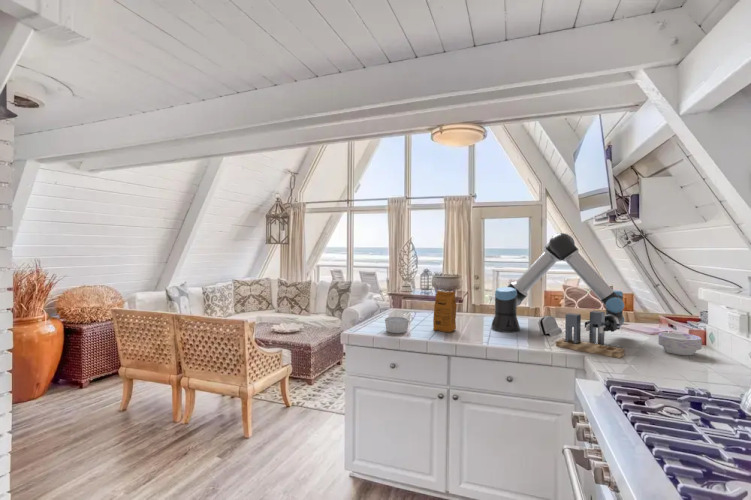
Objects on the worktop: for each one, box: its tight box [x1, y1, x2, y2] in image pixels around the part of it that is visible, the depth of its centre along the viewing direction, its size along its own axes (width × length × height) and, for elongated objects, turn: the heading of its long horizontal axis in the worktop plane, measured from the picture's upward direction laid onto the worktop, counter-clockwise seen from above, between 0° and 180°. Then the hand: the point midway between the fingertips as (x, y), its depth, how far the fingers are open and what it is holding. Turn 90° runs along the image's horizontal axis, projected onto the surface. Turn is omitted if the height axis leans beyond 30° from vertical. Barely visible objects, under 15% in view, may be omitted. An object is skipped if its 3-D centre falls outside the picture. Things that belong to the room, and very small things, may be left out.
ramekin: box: [384, 316, 410, 334], centre depth 208 cm, size 13×13×7 cm
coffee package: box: [432, 290, 457, 333], centre depth 212 cm, size 10×12×22 cm
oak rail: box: [555, 337, 626, 359], centre depth 173 cm, size 26×8×2 cm, turn 44°
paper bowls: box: [657, 331, 703, 356], centre depth 170 cm, size 15×15×8 cm
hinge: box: [537, 315, 563, 337], centre depth 208 cm, size 17×5×10 cm, turn 135°
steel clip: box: [588, 310, 606, 345], centre depth 180 cm, size 5×5×16 cm
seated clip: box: [564, 312, 582, 344], centre depth 178 cm, size 5×5×16 cm
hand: (593, 329), depth 177 cm, fingers closed on steel clip, 5 cm apart
